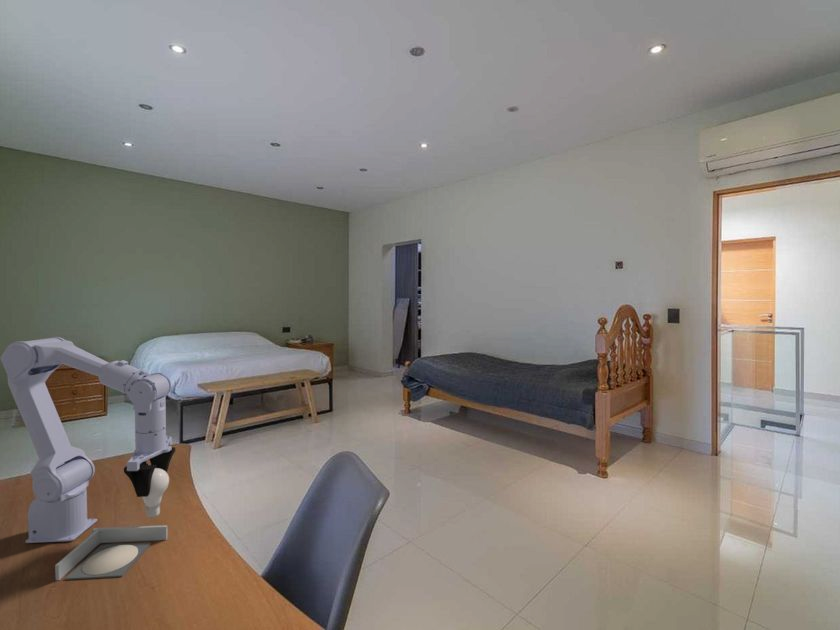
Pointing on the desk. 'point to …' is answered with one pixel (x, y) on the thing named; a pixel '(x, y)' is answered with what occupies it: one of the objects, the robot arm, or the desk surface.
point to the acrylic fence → (107, 537)
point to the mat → (109, 561)
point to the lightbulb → (156, 492)
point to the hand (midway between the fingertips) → (151, 488)
